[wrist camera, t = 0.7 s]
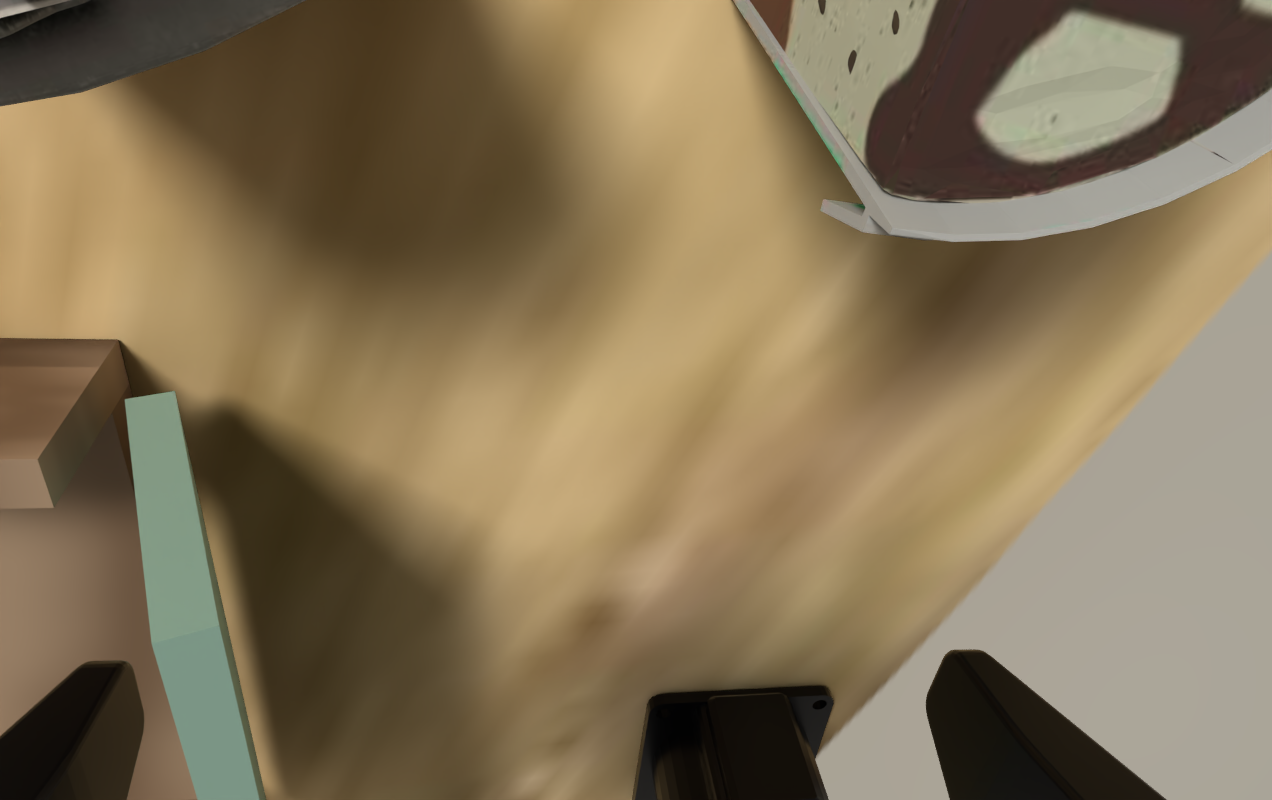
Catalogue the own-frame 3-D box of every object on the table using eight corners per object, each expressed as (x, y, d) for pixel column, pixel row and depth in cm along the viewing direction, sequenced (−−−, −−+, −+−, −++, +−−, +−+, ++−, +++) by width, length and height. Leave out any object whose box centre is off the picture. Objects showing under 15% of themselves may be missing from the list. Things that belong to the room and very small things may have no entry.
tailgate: (234, 818, 28) (276, 1066, 23) (124, 399, 20) (150, 644, 14) (267, 805, 29) (316, 1047, 24) (175, 390, 20) (218, 625, 15)
